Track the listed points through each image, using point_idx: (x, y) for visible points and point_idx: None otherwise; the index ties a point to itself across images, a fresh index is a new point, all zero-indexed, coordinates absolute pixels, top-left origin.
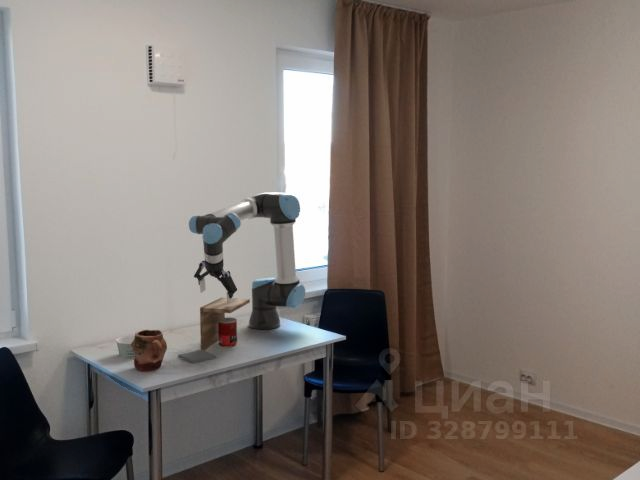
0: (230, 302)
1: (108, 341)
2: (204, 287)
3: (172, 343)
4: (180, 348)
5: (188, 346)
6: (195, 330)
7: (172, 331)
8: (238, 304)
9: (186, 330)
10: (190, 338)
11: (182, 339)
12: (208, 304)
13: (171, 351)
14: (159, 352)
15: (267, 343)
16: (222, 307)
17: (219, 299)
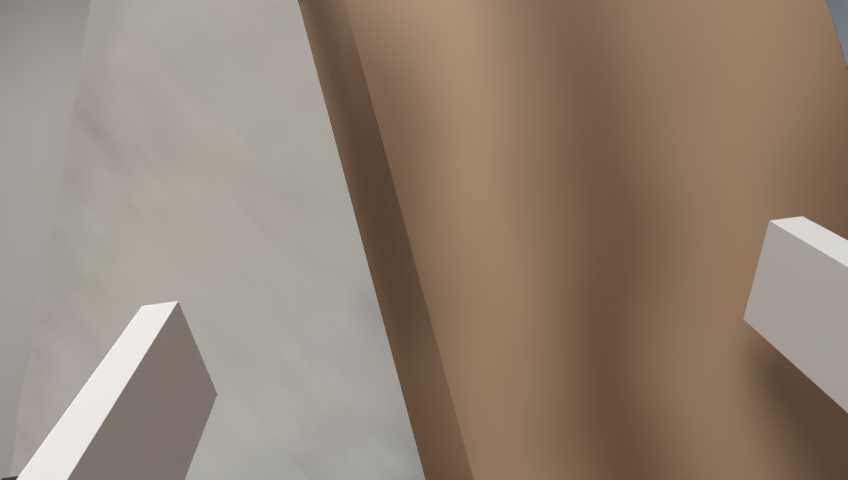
0: (601, 73)
1: (18, 455)
2: (159, 381)
3: (273, 342)
4: (377, 405)
5: (388, 350)
6: (194, 52)
7: (114, 146)
8: (833, 116)
9: (156, 84)
10: (284, 207)
11: (263, 248)
12: (412, 350)
13: (376, 477)
14: None
15: (829, 6)
16: (733, 431)
17: (328, 11)
